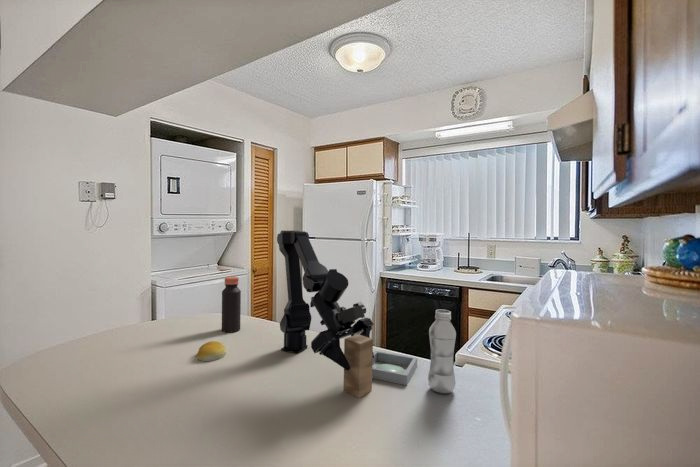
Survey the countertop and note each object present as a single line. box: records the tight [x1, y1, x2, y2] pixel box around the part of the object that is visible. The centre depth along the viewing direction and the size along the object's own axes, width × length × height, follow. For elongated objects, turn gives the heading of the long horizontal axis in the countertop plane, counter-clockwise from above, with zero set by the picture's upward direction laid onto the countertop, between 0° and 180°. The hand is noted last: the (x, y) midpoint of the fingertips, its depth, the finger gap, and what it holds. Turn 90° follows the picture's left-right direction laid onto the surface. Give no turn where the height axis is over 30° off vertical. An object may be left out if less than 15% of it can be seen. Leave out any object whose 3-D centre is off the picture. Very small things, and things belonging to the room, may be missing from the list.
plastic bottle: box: [427, 309, 457, 394], centre depth 85 cm, size 6×7×20 cm
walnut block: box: [343, 334, 374, 399], centre depth 84 cm, size 5×5×13 cm
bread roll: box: [196, 340, 227, 362], centre depth 104 cm, size 8×9×4 cm
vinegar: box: [221, 276, 242, 334], centre depth 128 cm, size 7×7×20 cm
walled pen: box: [372, 350, 418, 386], centre depth 96 cm, size 13×13×2 cm
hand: (361, 363), depth 83 cm, fingers open, 9 cm apart
